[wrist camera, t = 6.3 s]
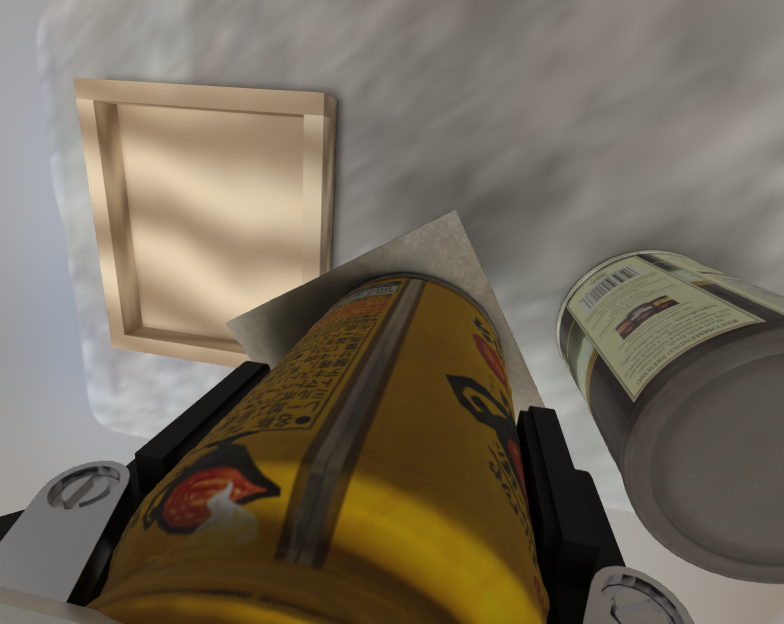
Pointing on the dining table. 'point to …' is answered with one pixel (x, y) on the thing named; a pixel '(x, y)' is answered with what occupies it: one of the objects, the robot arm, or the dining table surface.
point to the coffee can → (687, 403)
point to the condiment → (353, 462)
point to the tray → (204, 206)
